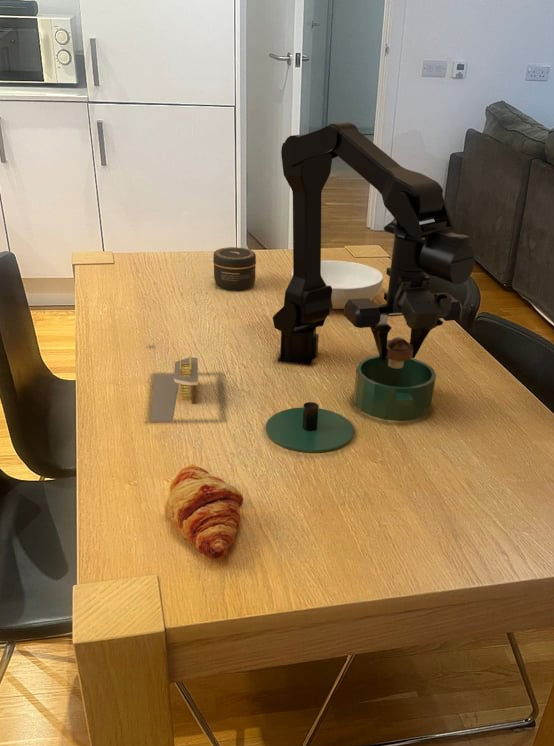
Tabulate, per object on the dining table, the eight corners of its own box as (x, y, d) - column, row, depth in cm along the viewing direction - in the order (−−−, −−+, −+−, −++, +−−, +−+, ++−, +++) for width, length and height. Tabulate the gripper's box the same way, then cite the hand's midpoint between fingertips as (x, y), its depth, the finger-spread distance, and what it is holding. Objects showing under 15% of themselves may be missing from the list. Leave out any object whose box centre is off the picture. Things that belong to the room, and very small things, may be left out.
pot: (360, 431, 124) (364, 395, 120) (347, 381, 140) (350, 348, 136) (440, 431, 125) (446, 396, 121) (419, 382, 141) (424, 349, 137)
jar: (219, 276, 185) (218, 244, 181) (259, 280, 184) (259, 248, 180) (209, 289, 177) (208, 256, 173) (251, 293, 176) (251, 260, 172)
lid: (266, 455, 116) (267, 426, 113) (264, 412, 128) (265, 385, 125) (358, 456, 117) (361, 427, 114) (348, 413, 129) (350, 386, 126)
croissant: (171, 501, 111) (142, 462, 106) (230, 465, 111) (203, 425, 106) (200, 591, 94) (167, 551, 89) (270, 550, 94) (240, 507, 89)
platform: (149, 421, 123) (147, 385, 120) (154, 374, 138) (152, 340, 134) (223, 420, 125) (223, 384, 121) (220, 373, 140) (219, 340, 136)
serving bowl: (396, 300, 177) (399, 271, 173) (352, 326, 162) (354, 295, 158) (320, 281, 186) (322, 253, 182) (272, 304, 171) (272, 274, 167)
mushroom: (378, 369, 127) (382, 342, 124) (382, 357, 131) (385, 330, 128) (409, 373, 126) (413, 346, 123) (412, 361, 130) (416, 334, 127)
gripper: (374, 286, 110) (364, 384, 118) (487, 279, 115) (469, 373, 124) (346, 263, 118) (338, 356, 127) (452, 257, 124) (438, 346, 132)
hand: (397, 358), depth 127 cm, fingers closed on mushroom, 5 cm apart
